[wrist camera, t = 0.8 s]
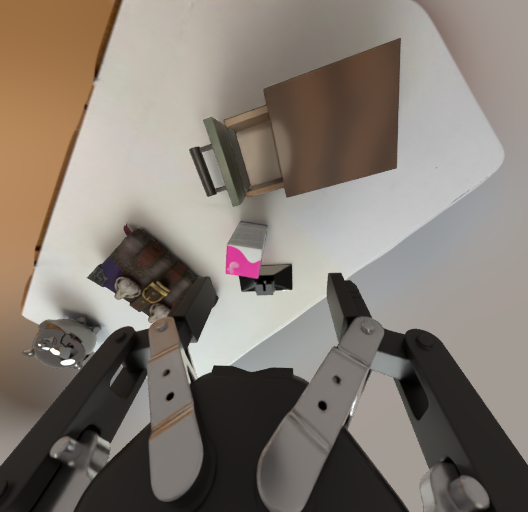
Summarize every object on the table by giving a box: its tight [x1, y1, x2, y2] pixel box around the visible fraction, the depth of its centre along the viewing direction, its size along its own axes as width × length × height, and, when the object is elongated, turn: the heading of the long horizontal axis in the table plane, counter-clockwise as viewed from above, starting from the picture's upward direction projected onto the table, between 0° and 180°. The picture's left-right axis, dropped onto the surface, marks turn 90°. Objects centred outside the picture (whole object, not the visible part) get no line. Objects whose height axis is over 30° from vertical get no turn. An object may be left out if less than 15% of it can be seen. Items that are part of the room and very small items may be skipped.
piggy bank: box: [22, 316, 101, 369], centre depth 52 cm, size 11×15×12 cm
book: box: [87, 224, 218, 323], centre depth 44 cm, size 26×18×7 cm
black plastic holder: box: [239, 264, 292, 295], centre depth 44 cm, size 12×7×5 cm, turn 95°
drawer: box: [189, 105, 284, 207], centre depth 30 cm, size 18×11×8 cm, turn 105°
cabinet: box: [264, 38, 401, 197], centre depth 28 cm, size 15×13×10 cm
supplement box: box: [226, 221, 267, 279], centre depth 36 cm, size 6×6×12 cm
